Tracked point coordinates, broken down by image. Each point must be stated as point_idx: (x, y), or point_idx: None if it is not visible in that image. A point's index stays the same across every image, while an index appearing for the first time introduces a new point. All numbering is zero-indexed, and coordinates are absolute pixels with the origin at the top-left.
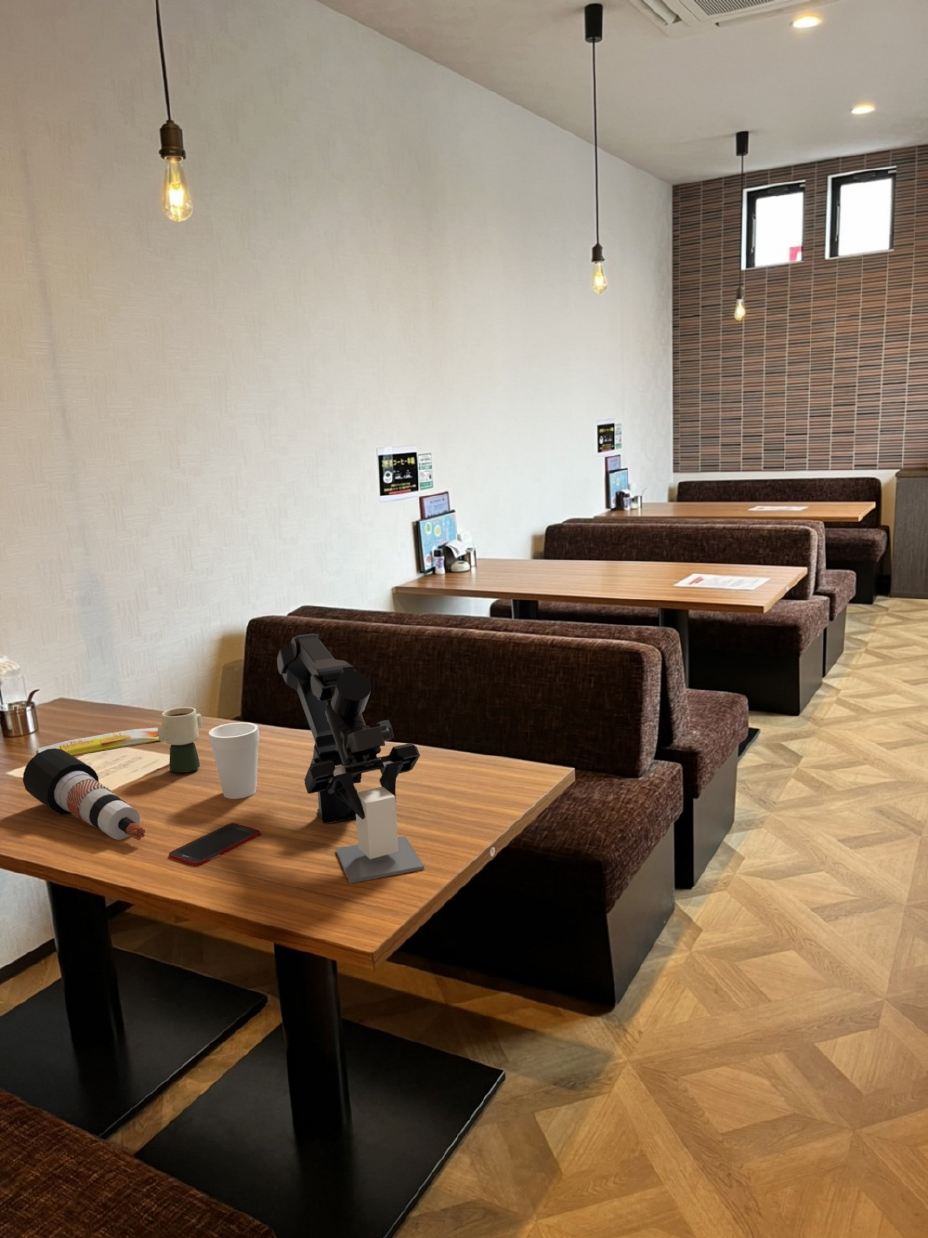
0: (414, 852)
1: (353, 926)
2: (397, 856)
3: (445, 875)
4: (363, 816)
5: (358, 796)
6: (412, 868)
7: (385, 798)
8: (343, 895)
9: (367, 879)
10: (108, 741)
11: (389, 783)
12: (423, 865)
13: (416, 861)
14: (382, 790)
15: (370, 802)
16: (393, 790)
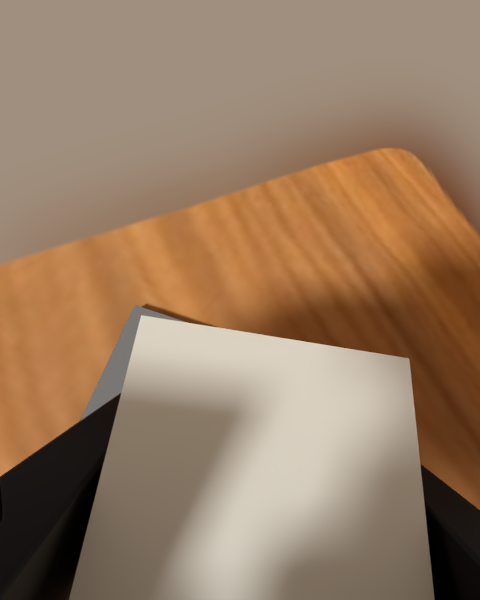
0: (89, 409)
1: (405, 212)
2: None
3: (116, 244)
4: None
5: (452, 529)
6: (171, 317)
7: (231, 338)
8: (388, 334)
9: None
10: None
11: (15, 552)
12: (134, 308)
13: (132, 345)
14: (134, 565)
15: (370, 353)
16: (43, 467)
